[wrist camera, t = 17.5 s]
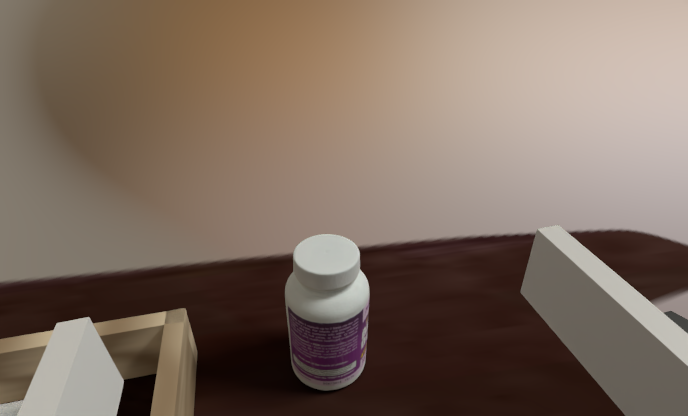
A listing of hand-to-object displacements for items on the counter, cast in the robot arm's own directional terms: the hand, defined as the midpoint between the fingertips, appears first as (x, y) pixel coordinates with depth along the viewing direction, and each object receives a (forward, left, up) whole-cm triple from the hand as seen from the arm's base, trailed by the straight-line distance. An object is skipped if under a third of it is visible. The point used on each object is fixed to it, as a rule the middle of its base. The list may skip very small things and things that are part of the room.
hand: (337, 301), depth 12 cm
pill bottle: (-2, -10, -16) cm, 19 cm away
